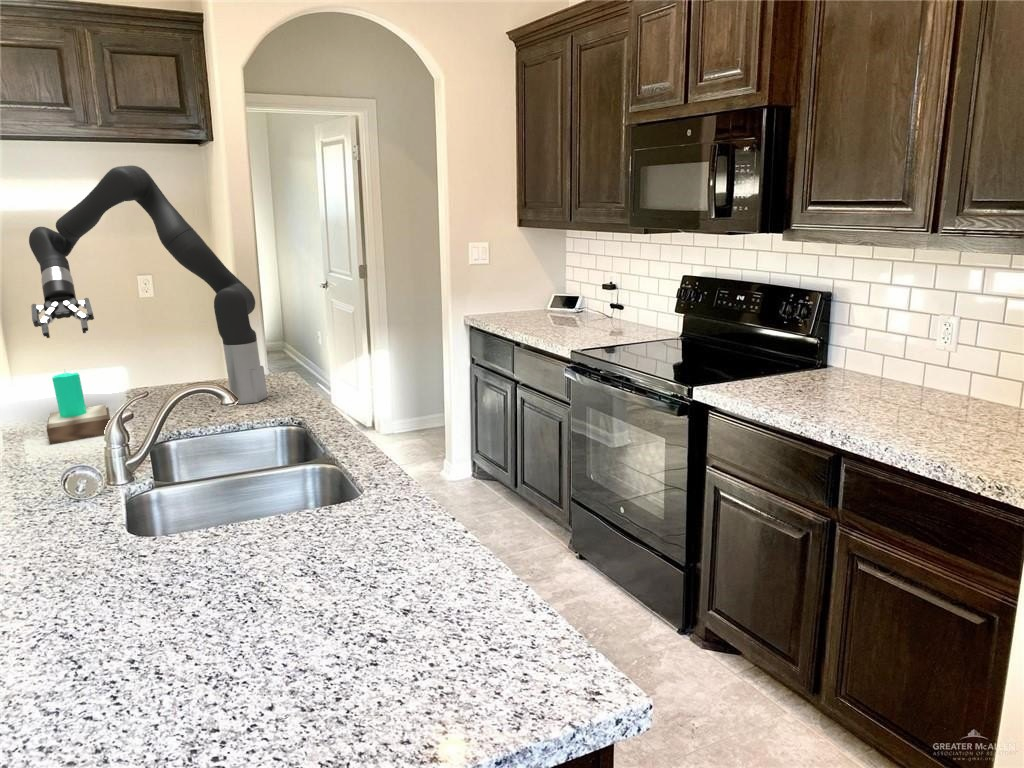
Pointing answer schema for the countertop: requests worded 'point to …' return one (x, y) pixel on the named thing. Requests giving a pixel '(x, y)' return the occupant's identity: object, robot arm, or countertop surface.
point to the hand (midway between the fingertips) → (66, 333)
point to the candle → (69, 394)
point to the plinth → (77, 425)
